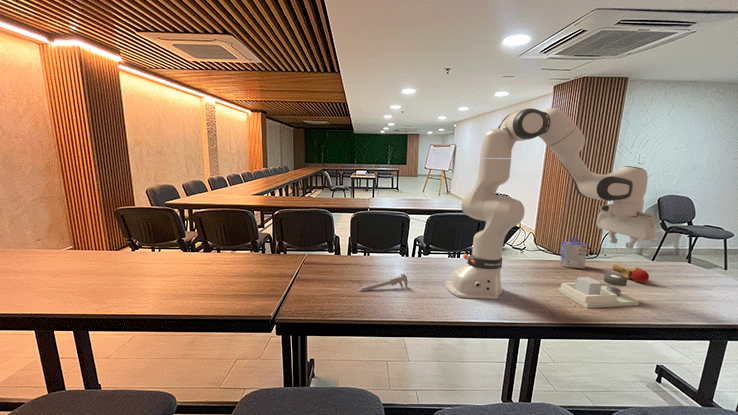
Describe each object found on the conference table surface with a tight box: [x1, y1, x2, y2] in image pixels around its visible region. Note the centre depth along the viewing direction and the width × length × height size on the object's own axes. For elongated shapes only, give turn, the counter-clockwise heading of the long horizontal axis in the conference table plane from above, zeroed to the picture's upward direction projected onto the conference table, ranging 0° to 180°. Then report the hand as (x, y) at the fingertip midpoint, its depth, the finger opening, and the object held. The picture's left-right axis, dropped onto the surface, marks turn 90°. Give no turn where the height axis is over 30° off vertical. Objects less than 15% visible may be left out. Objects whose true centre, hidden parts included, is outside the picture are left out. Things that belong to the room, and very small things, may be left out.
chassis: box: [557, 281, 640, 309], centre depth 120 cm, size 22×14×4 cm, turn 98°
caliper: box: [357, 272, 409, 292], centre depth 123 cm, size 20×1×6 cm, turn 104°
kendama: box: [611, 264, 650, 284], centre depth 143 cm, size 8×6×18 cm
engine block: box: [576, 276, 603, 295], centre depth 119 cm, size 5×6×6 cm
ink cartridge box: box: [559, 237, 588, 269], centre depth 155 cm, size 10×6×14 cm, turn 78°
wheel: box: [603, 272, 628, 287], centre depth 120 cm, size 7×7×3 cm
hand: (621, 245), depth 118 cm, fingers open, 5 cm apart
